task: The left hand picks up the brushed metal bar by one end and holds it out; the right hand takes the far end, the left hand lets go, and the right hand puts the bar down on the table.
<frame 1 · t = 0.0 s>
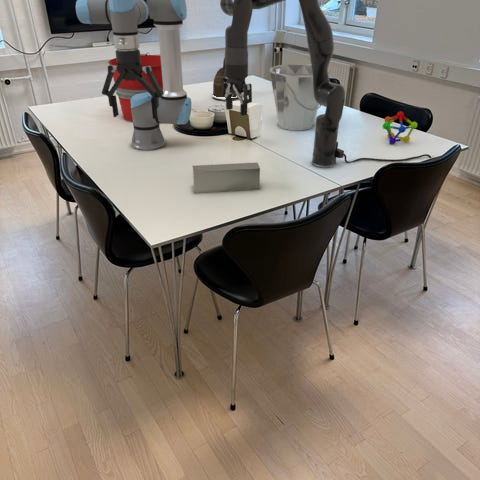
left hand: (135, 116, 150), 28 cm above the table, tool pointing down, fingers open, 13 cm apart
right hand: (236, 112, 150), 29 cm above the table, tool pointing down, fingers open, 8 cm apart
bell: (226, 97, 281), on the table
bar: (226, 188, 168), on the table
bucket 2: (146, 115, 247), on the table
bucket: (295, 125, 233), on the table
educational toy: (395, 143, 211), on the table
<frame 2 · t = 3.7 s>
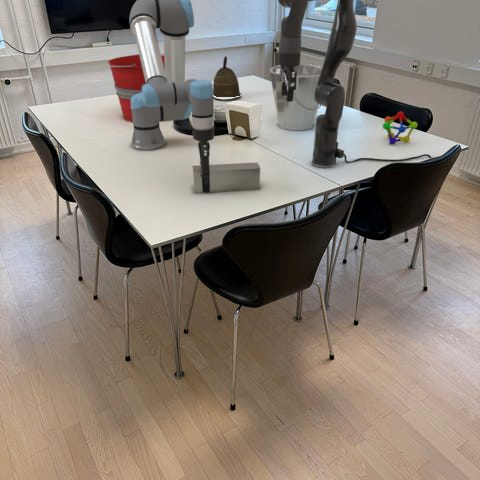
left hand: (205, 187, 166), 1 cm above the table, tool pointing down, fingers closed on bar, 6 cm apart
right hand: (286, 98, 161), 31 cm above the table, tool pointing down, fingers open, 8 cm apart
bar: (226, 188, 168), on the table, touching left hand
everything else where it was.
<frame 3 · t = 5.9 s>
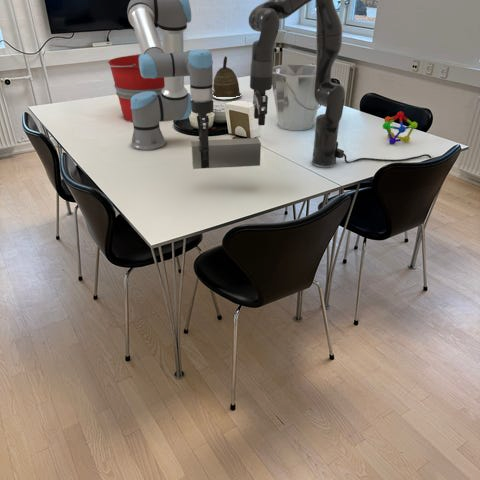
left hand: (204, 164, 161), 10 cm above the table, tool pointing down, fingers closed on bar, 6 cm apart
right hand: (259, 121, 158), 24 cm above the table, tool pointing down, fingers open, 8 cm apart
bar: (226, 164, 163), point 10 cm above the table, touching left hand
everything else where it was.
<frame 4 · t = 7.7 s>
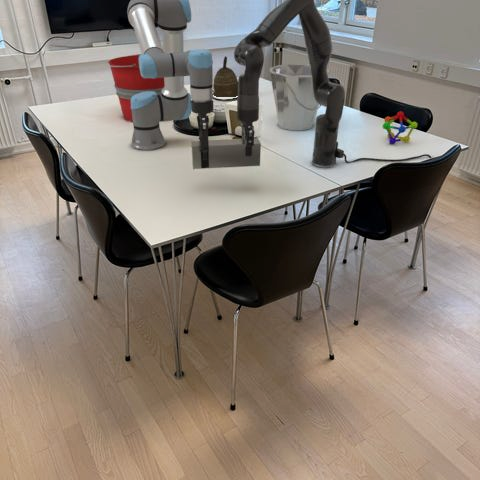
left hand: (204, 164, 161), 10 cm above the table, tool pointing down, fingers closed on bar, 6 cm apart
right hand: (247, 152, 161), 14 cm above the table, tool pointing down, fingers closed on bar, 5 cm apart
bar: (226, 164, 163), point 9 cm above the table, touching left hand, right hand
everything else where it was.
when the left hand's fingers open (10 cm above the table, at t = 8.6 s): bar stays where it is, held by the right hand.
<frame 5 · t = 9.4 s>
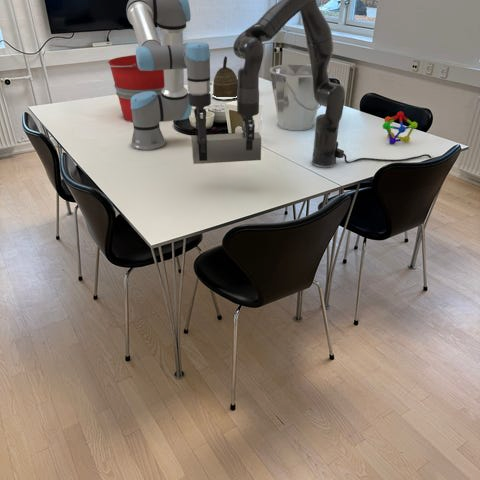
left hand: (201, 153, 159), 14 cm above the table, tool pointing down, fingers open, 13 cm apart
right hand: (247, 146, 160), 16 cm above the table, tool pointing down, fingers closed on bar, 5 cm apart
bar: (226, 159, 162), point 12 cm above the table, touching right hand
everything else where it was.
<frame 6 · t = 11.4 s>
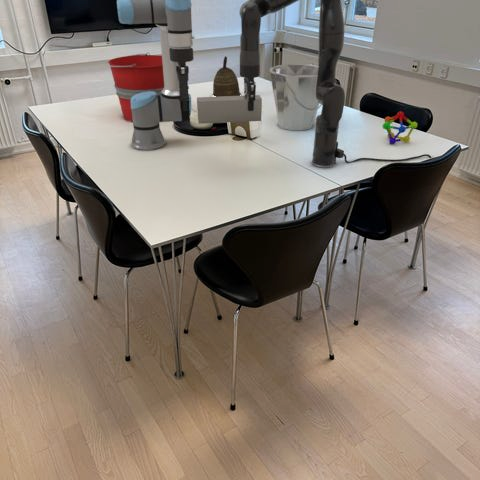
left hand: (185, 114, 151), 28 cm above the table, tool pointing down, fingers open, 13 cm apart
right hand: (249, 108, 172), 24 cm above the table, tool pointing down, fingers closed on bar, 5 cm apart
bar: (229, 120, 174), point 20 cm above the table, touching right hand
everything else where it was.
when the right hand's fingers open (6 cm above the table, at t = 15.2 s): bar drops 1 cm, on the table.
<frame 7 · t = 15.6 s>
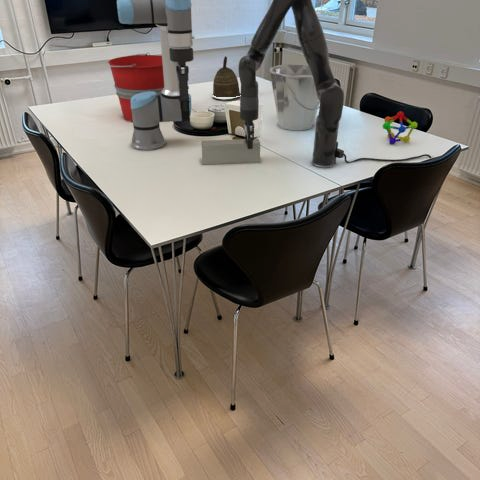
left hand: (185, 114, 151), 28 cm above the table, tool pointing down, fingers open, 13 cm apart
right hand: (248, 145, 188), 7 cm above the table, tool pointing down, fingers open, 8 cm apart
bar: (230, 161, 191), on the table
everything else where it was.
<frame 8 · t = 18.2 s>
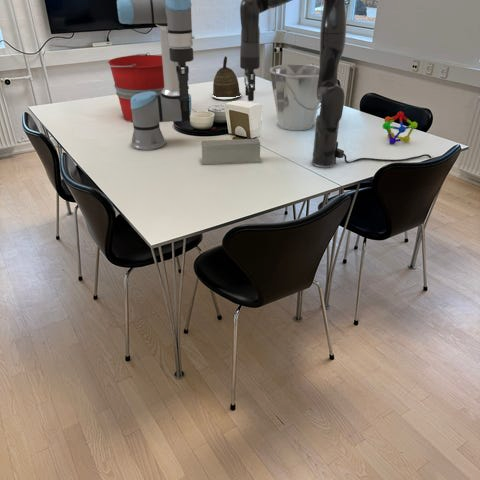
left hand: (185, 114, 151), 28 cm above the table, tool pointing down, fingers open, 13 cm apart
right hand: (249, 98, 177), 26 cm above the table, tool pointing down, fingers open, 8 cm apart
nothing on the table moved.
at the end: bar inside the target area (7.6 cm from its centre), on the table; the left hand is holding nothing; the right hand is holding nothing; bar at rest at the end (0.0 cm/s) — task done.
